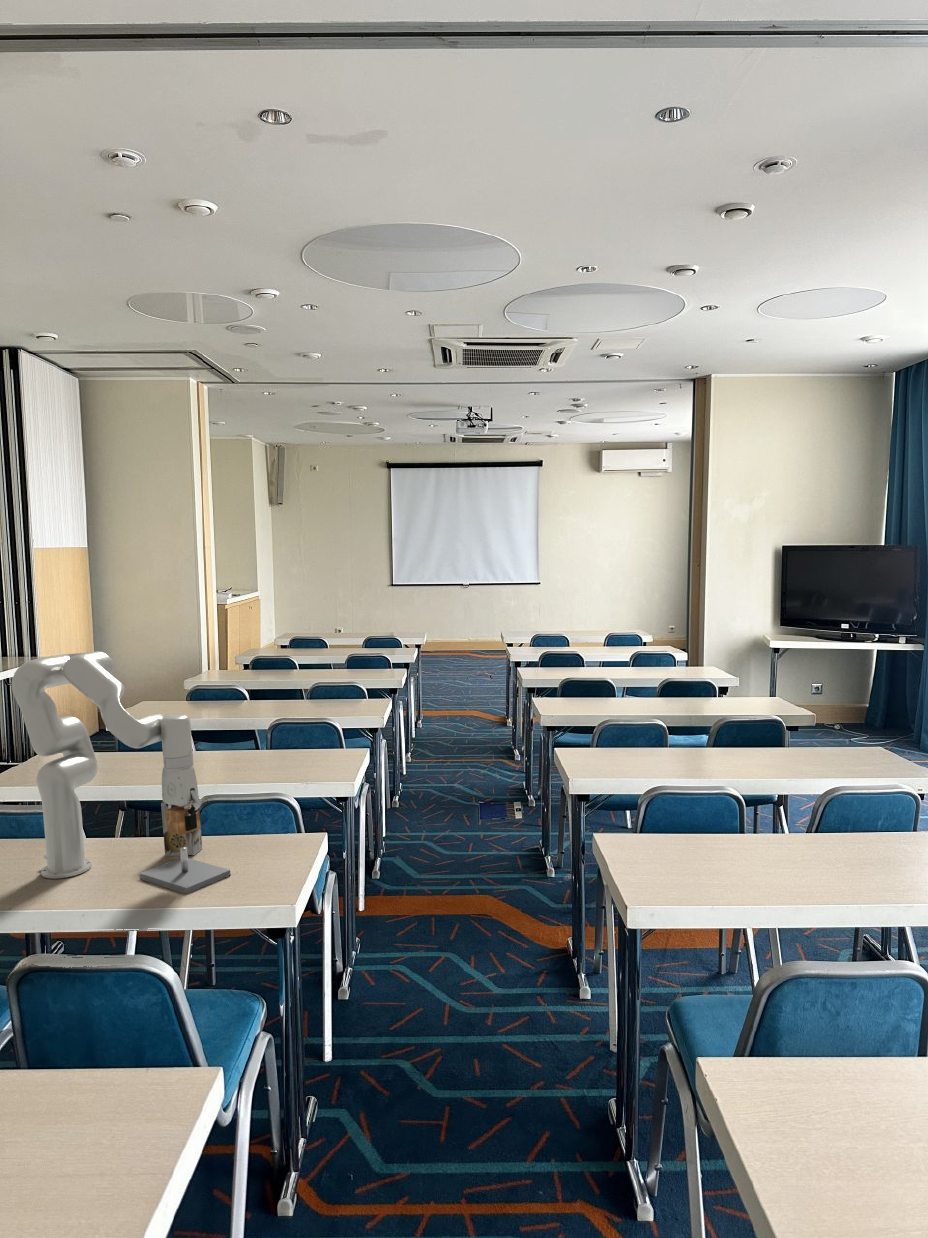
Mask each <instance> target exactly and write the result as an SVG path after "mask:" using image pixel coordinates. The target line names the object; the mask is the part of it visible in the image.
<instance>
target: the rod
mask: <svg viewBox="0 0 928 1238" xmlns="http://www.w3.org/2000/svg"><path fill="white" fill-rule="evenodd" d="M180 855H181V856H180V858H181V871H182V873H186V872H188V871H189V869H188V858H189V856H188V854H187V847H182V848H180Z"/></svg>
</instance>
